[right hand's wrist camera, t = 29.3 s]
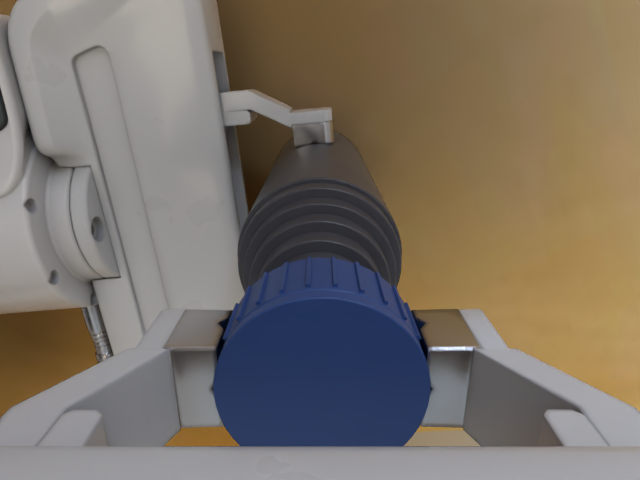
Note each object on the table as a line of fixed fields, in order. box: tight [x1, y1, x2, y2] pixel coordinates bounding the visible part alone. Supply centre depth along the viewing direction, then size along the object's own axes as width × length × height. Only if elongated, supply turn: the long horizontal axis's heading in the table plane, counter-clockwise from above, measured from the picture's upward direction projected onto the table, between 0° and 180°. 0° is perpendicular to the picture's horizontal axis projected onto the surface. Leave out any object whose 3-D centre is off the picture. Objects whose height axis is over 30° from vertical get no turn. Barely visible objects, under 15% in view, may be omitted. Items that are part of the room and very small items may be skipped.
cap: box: [213, 256, 431, 446], centre depth 9 cm, size 4×4×2 cm
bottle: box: [237, 131, 402, 292], centre depth 17 cm, size 5×5×18 cm
